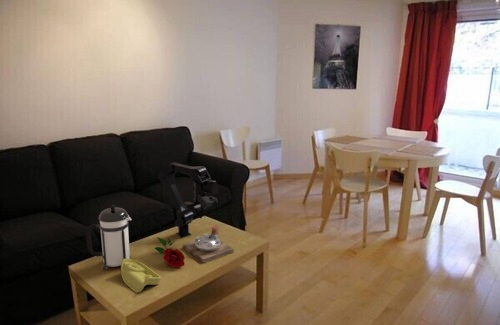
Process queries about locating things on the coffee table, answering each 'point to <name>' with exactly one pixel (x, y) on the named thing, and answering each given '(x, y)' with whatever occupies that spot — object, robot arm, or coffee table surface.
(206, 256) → the square disc baseplate
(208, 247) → the round disc with cubes
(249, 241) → the coffee table surface
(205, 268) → the coffee table surface
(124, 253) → the coffee press
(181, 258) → the flower
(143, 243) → the coffee table surface
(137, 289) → the plastic component
